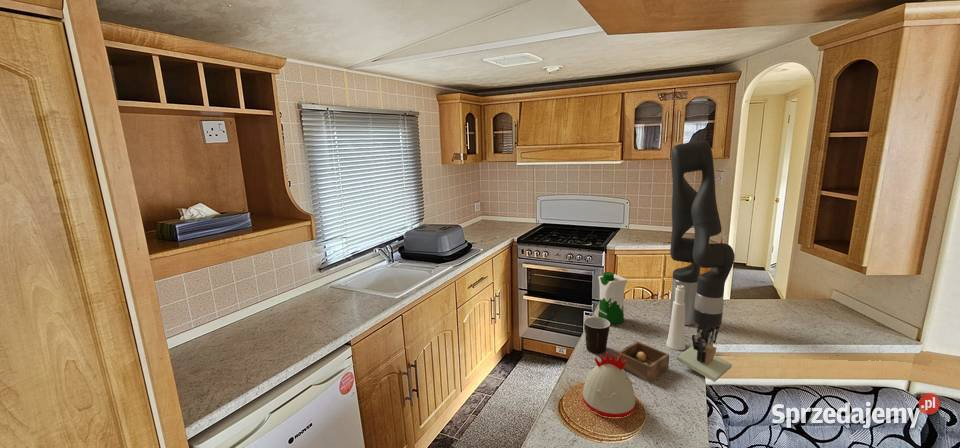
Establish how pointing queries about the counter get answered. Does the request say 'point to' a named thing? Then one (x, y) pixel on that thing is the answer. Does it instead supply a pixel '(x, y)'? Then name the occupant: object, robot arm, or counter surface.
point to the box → (638, 368)
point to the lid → (705, 363)
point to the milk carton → (611, 297)
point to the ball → (641, 356)
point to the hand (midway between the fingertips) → (703, 359)
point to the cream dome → (609, 388)
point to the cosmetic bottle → (677, 321)
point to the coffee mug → (596, 334)
